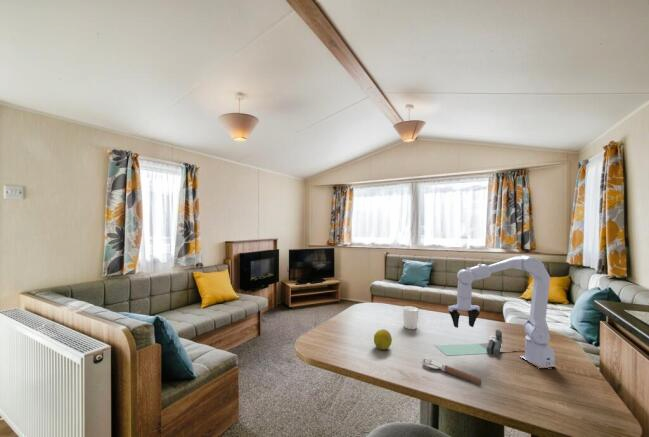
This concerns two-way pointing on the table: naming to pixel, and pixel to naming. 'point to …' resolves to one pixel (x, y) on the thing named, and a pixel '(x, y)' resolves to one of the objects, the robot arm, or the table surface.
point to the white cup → (410, 317)
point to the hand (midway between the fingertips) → (463, 326)
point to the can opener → (497, 341)
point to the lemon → (382, 339)
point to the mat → (464, 349)
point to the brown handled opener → (451, 371)
